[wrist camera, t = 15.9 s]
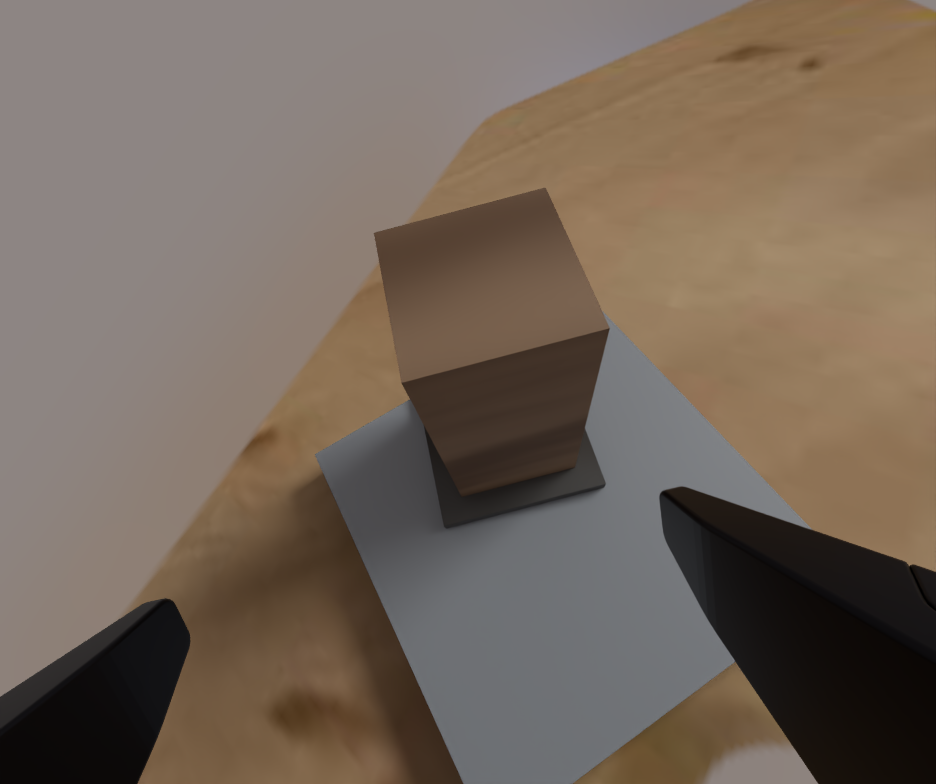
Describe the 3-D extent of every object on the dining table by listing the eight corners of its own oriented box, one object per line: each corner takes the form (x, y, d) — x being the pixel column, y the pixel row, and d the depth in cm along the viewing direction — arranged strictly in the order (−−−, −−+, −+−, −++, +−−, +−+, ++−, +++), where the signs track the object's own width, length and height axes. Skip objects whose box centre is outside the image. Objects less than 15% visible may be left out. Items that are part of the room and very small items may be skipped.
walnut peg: (598, 499, 22) (670, 352, 10) (453, 537, 22) (365, 432, 10) (552, 373, 25) (568, 156, 14) (426, 406, 25) (336, 217, 14)
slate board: (824, 578, 19) (853, 572, 18) (495, 822, 17) (491, 844, 15) (584, 318, 27) (588, 296, 25) (330, 467, 24) (314, 454, 23)
